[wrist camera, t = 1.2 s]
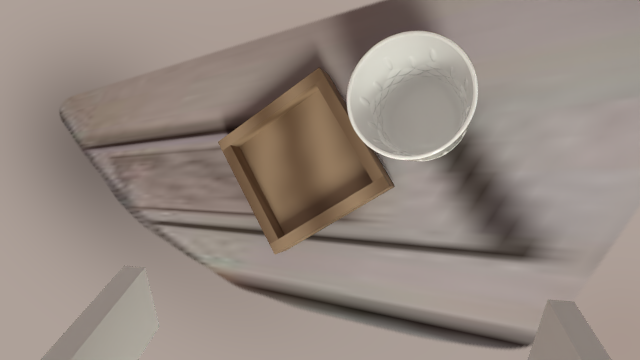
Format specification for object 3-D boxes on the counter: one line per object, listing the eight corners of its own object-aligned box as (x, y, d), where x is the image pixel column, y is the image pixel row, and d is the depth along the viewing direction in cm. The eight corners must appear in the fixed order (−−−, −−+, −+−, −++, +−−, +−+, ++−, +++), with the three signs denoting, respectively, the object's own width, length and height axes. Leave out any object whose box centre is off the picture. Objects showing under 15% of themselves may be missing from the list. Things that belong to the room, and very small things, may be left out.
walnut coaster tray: (328, 74, 36) (319, 67, 34) (394, 186, 34) (389, 186, 32) (232, 144, 40) (217, 142, 38) (286, 250, 38) (274, 254, 35)
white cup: (360, 123, 35) (322, 100, 26) (425, 55, 33) (410, 4, 24) (423, 186, 33) (406, 186, 24) (496, 118, 31) (509, 89, 22)
